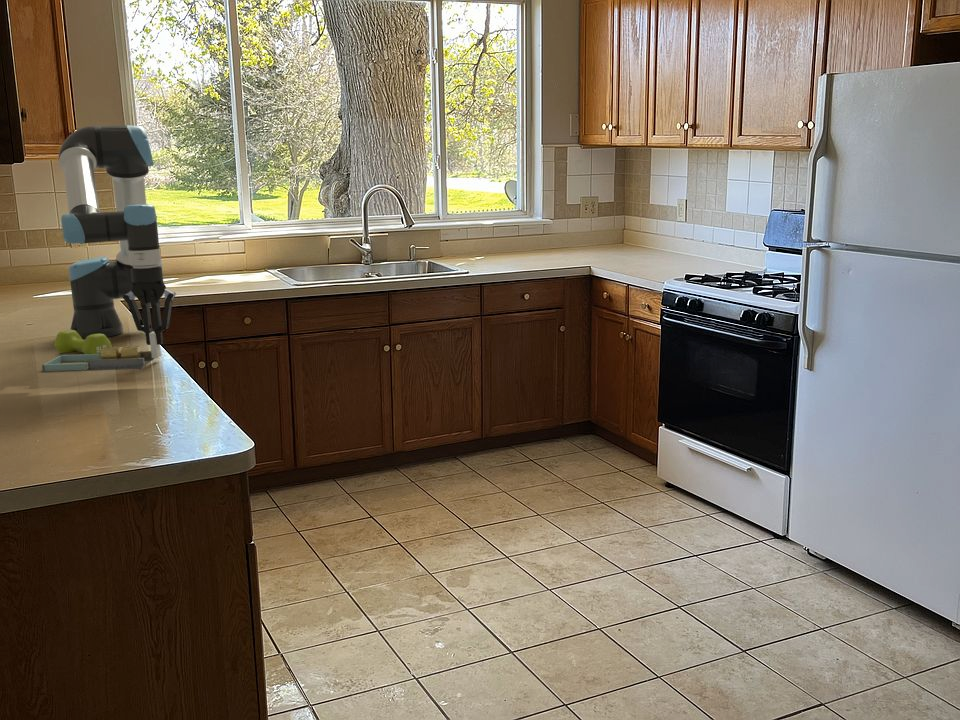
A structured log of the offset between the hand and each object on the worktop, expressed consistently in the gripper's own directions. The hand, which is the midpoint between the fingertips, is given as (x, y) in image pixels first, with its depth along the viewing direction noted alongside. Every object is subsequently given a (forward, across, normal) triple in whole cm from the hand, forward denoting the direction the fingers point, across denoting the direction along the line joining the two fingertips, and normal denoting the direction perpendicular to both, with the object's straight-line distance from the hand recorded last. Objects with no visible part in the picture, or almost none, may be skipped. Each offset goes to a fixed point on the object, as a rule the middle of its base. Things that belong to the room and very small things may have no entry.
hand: (156, 356), depth 239 cm
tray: (+3, -22, 0) cm, 22 cm away
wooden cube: (+1, -6, 0) cm, 7 cm away
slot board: (+3, -9, 0) cm, 9 cm away
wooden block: (+1, -12, 0) cm, 12 cm away
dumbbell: (+3, -25, +16) cm, 30 cm away
